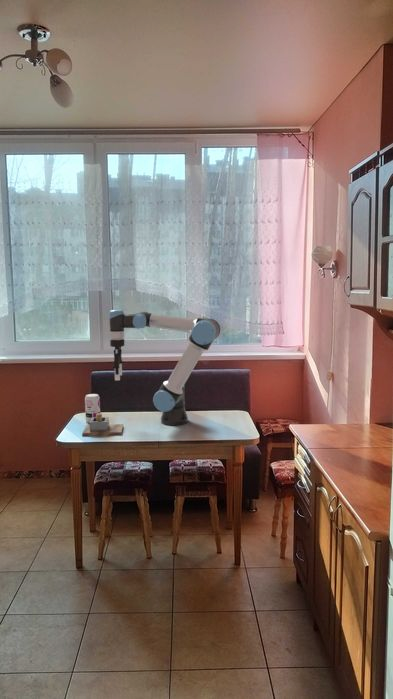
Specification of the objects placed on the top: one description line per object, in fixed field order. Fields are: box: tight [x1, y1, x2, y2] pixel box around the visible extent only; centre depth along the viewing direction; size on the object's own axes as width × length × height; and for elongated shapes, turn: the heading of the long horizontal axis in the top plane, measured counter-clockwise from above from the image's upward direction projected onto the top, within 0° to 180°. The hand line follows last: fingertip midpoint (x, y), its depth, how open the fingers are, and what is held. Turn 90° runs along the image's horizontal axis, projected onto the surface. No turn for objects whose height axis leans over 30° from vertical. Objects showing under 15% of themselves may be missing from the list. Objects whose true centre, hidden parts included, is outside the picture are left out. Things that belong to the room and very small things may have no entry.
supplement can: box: [84, 393, 101, 423], centre depth 283 cm, size 8×8×15 cm
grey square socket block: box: [88, 416, 110, 432], centre depth 265 cm, size 9×9×5 cm
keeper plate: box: [81, 412, 124, 437], centre depth 265 cm, size 20×14×10 cm
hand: (118, 377), depth 272 cm, fingers open, 13 cm apart
